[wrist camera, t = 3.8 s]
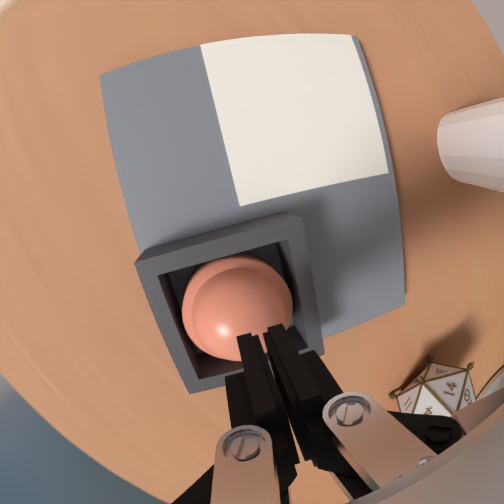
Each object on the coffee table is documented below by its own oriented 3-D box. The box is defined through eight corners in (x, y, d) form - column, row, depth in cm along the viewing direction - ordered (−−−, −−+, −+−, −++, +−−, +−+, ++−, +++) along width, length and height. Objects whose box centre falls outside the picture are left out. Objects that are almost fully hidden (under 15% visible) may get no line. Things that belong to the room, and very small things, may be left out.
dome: (288, 323, 16) (315, 365, 12) (201, 348, 16) (204, 398, 11) (269, 236, 15) (297, 258, 11) (171, 264, 14) (160, 296, 10)
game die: (381, 359, 25) (408, 375, 15) (455, 343, 23) (505, 347, 13) (381, 439, 22) (401, 484, 13) (454, 421, 20) (496, 452, 11)
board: (396, 299, 19) (426, 318, 15) (189, 368, 17) (189, 405, 14) (349, 41, 14) (377, 20, 10) (105, 81, 12) (83, 58, 9)
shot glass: (452, 90, 16) (517, 78, 9) (487, 156, 18) (548, 159, 11) (418, 136, 16) (497, 129, 9) (458, 207, 18) (527, 221, 11)
